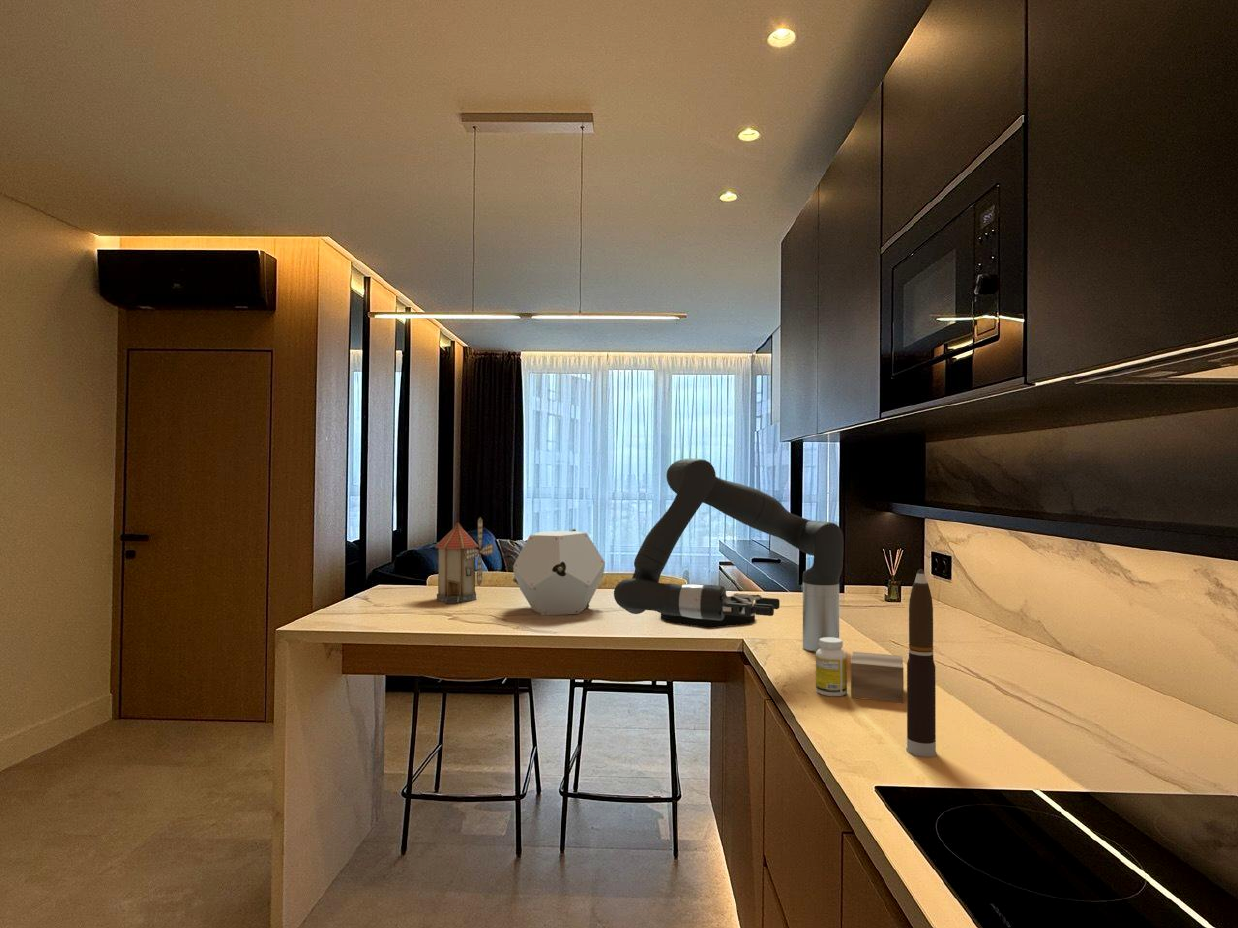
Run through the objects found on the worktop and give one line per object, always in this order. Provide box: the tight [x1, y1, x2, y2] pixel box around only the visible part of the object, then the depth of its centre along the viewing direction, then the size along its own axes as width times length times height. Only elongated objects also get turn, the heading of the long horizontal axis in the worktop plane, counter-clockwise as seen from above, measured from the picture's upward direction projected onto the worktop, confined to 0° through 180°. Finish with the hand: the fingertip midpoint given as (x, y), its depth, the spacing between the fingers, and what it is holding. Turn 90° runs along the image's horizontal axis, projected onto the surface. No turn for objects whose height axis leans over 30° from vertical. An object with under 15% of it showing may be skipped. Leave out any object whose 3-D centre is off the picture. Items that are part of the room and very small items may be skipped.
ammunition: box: [906, 568, 937, 758], centre depth 117 cm, size 5×5×30 cm
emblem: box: [660, 613, 756, 629], centre depth 226 cm, size 30×4×30 cm
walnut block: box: [850, 651, 905, 704], centre depth 149 cm, size 10×10×7 cm
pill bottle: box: [815, 637, 848, 697], centre depth 149 cm, size 6×6×11 cm
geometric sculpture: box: [512, 528, 606, 616], centre depth 238 cm, size 30×30×30 cm
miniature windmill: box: [434, 516, 495, 605], centre depth 257 cm, size 24×20×30 cm
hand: (776, 607), depth 153 cm, fingers open, 8 cm apart
